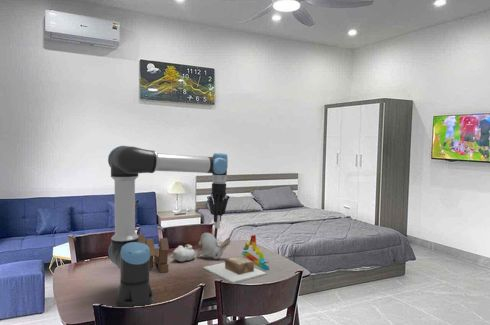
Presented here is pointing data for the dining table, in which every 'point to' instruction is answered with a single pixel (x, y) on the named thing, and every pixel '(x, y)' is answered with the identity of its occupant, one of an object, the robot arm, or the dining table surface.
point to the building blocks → (156, 251)
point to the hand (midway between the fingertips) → (217, 227)
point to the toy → (211, 246)
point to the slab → (239, 265)
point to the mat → (232, 273)
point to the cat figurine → (183, 253)
